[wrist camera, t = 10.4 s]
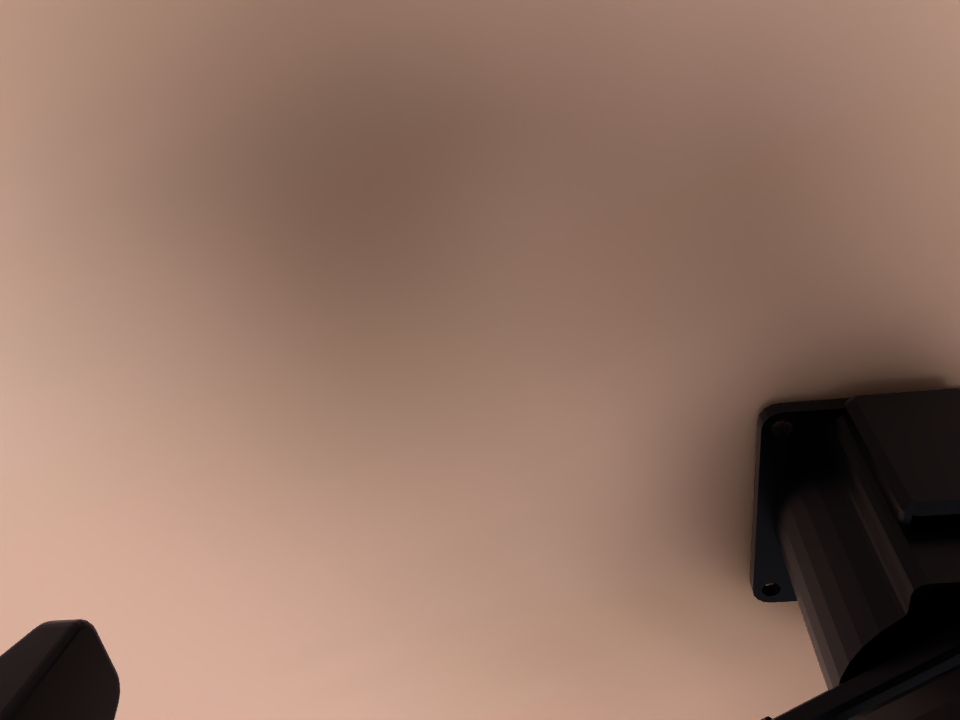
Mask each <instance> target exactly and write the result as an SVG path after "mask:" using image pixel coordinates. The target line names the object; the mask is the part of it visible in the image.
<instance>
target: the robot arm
mask: <svg viewBox="0 0 960 720" xmlns="http://www.w3.org/2000/svg"><path fill="white" fill-rule="evenodd" d="M779 421H788V422H787V424H786V425H784V426H783V427H780V428H773V427H772V426H773V425H774V424H775V423H776V422H779ZM750 583H751V587H752V590H753V594H754V596H755V597H756V598H757V599H758V600H761V601H763V602H787V601H798V604H799V606H800V609H801V612H802V615H803V618H804V621H805V624H806V627H807V630H808V633H809V636H810V638H811V641H812V644H813V647H814V650H815V653H816V656H817V659H818V662H819V665H820V668H821V671H822V673H823V676H824V679H825V682H826V685H827V688H828V691H826V692H824V693H822V694H820V695H818V696H816V697H814V698H812V699H810V700H808V701H806V702H804V703H802V704H801V705H799V706H797V707H795V708H793V709H791V710H789V711H787V712H785V713H783V714H781V715H779V716H777V717H775V718H773V719H772V718H770V717H765V718H763V719H761V720H960V390H959V389H946V390H932V391H918V392H904V393H890V394H876V395H863V396H855V397H853V398H844V399H830V400H816V401H802V402H789V403H778V404H773V405H770V406H769V407H767V408H765V409H764V410H763V411H762V412H761V414H760V415H759V418H758V423H757V444H756V464H755V485H754V505H753V525H752V546H751V566H750ZM769 583H774V584H772V585H768V586H766V584H769ZM119 696H120V683H119V678H118V674H117V672H116V670H115V668H114V666H113V664H112V662H111V660H110V658H109V656H108V654H107V651H106V649H105V647H104V645H103V643H102V641H101V639H100V637H99V635H98V633H97V631H96V629H95V628H94V626H93V625H92V624H90V623H89V622H88V621H86V620H82V619H77V620H58V621H48V622H45V623H43V624H41V625H39V626H38V627H36V628H35V629H33V630H32V631H31V632H30V633H28V634H27V635H26V636H25V637H23V638H22V639H21V640H20V641H18V642H17V643H16V644H15V645H14V646H12V647H11V648H10V649H9V650H7V651H6V652H5V653H4V654H2V655H1V656H0V720H114V719H115V715H116V711H117V707H118V702H119Z"/></svg>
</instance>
